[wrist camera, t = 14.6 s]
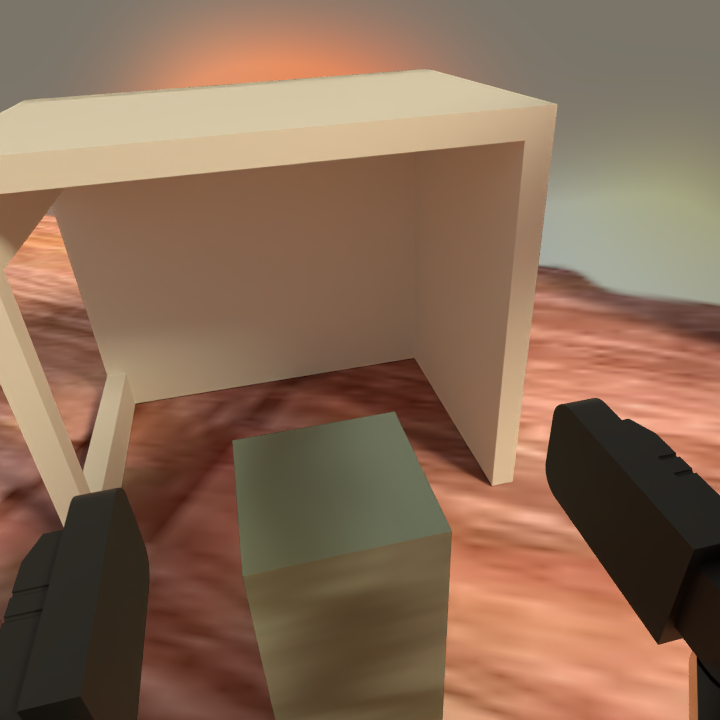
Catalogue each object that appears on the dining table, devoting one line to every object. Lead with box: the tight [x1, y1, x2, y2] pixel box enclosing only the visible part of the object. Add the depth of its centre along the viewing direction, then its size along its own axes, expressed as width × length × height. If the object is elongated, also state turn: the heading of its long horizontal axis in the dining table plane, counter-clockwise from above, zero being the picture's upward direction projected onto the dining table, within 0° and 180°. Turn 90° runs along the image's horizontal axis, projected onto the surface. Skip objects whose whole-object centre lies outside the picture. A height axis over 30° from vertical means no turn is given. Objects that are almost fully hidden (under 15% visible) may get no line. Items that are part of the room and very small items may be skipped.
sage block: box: [232, 412, 452, 720], centre depth 19 cm, size 5×5×12 cm
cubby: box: [0, 69, 557, 527], centre depth 32 cm, size 22×15×19 cm
